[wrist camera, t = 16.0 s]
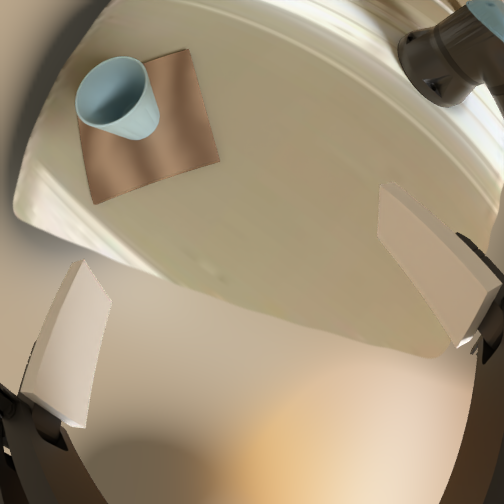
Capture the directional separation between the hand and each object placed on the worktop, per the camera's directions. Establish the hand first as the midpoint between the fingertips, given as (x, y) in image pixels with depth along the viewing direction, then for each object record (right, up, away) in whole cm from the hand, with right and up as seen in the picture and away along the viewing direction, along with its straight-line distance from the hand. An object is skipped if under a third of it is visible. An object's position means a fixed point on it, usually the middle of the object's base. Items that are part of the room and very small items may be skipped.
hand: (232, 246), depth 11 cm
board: (-14, +16, +20) cm, 29 cm away
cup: (-13, +16, +19) cm, 28 cm away
